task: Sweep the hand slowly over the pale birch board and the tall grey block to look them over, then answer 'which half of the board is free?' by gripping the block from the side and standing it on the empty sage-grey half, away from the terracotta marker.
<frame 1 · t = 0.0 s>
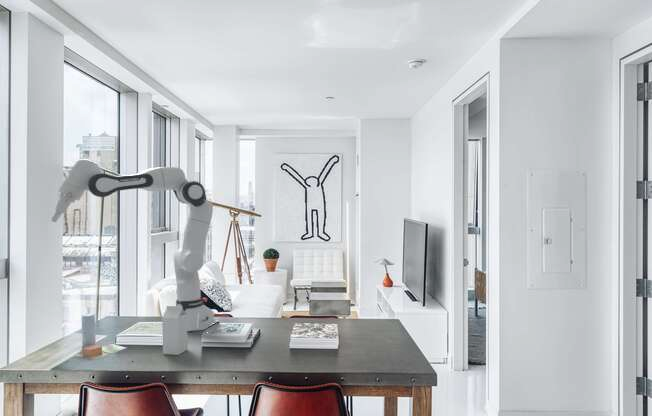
hand: (53, 221, 190), 54 cm above the table, tool tilted 30°, fingers open, 8 cm apart
terracotta marker: (92, 354, 180), resting on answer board
tall grey block: (89, 348, 192), on the table
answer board: (101, 353, 184), on the table
milk carton: (175, 352, 185), on the table
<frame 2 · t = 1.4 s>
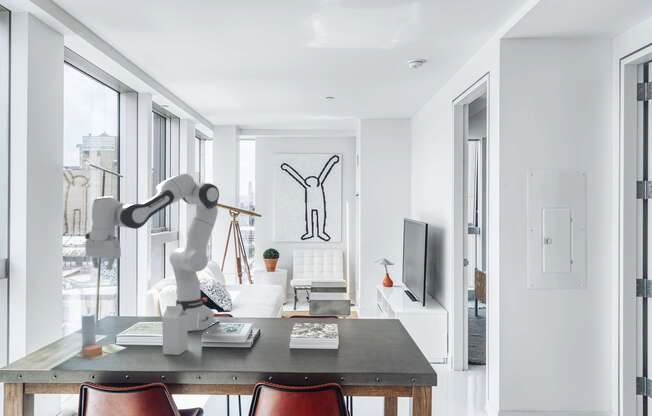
hand: (102, 268, 186), 35 cm above the table, tool pointing down, fingers open, 8 cm apart
nothing on the table moved.
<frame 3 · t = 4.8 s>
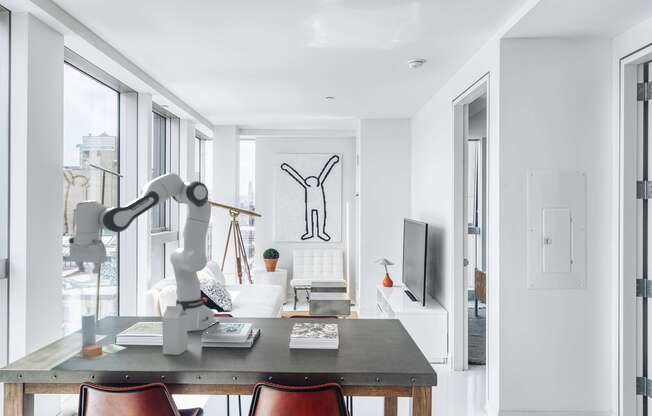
hand: (88, 272, 187), 33 cm above the table, tool pointing down, fingers open, 8 cm apart
nothing on the table moved.
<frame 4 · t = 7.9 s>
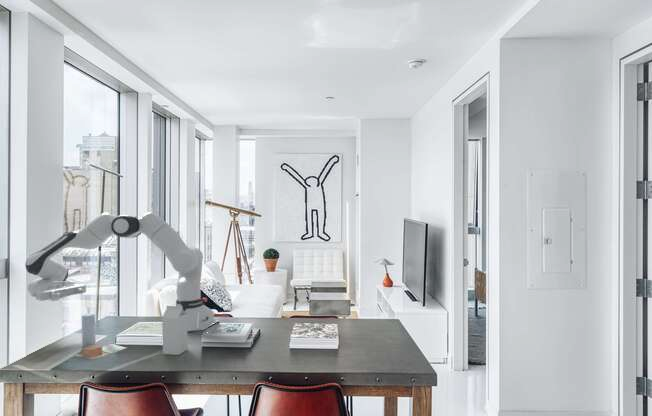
hand: (71, 293, 197), 22 cm above the table, tool horizontal, fingers open, 8 cm apart
nothing on the table moved.
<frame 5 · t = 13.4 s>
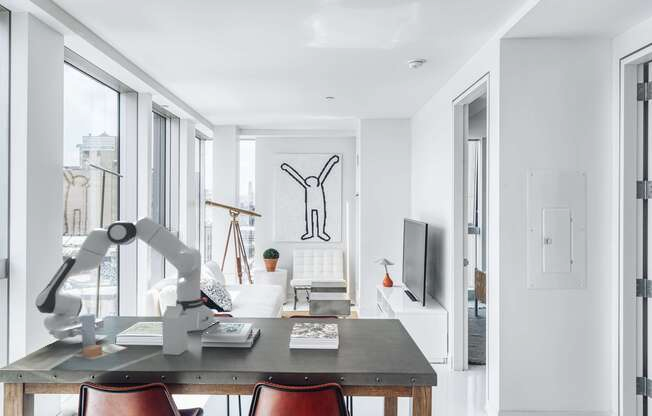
hand: (90, 330, 191), 8 cm above the table, tool horizontal, fingers closed on tall grey block, 5 cm apart
tall grey block: (89, 348, 192), on the table, touching gripper
everything else where it was.
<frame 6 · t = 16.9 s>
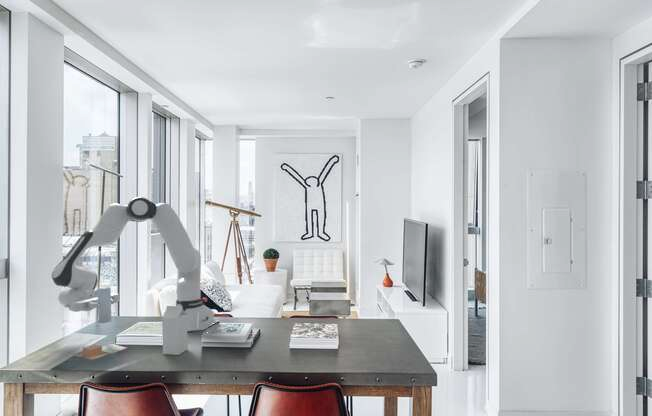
hand: (105, 303, 188), 20 cm above the table, tool horizontal, fingers closed on tall grey block, 5 cm apart
tall grey block: (105, 321, 188), point 12 cm above the table, touching gripper
everything else where it was.
when the fingers open (10 cm above the table, at t = 20.1 s): tall grey block drops 1 cm, resting on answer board.
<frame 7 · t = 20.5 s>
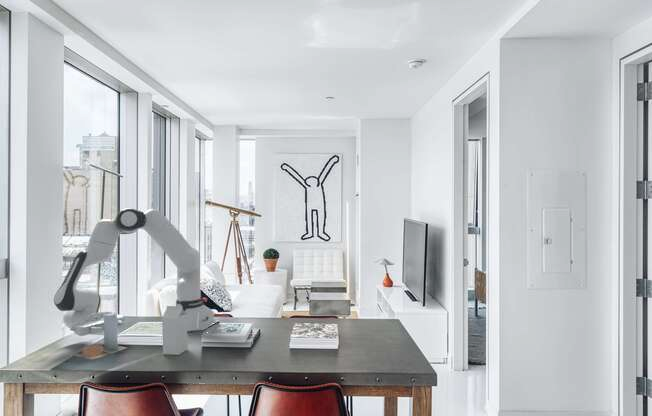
hand: (111, 327, 187), 10 cm above the table, tool horizontal, fingers open, 8 cm apart
tall grey block: (110, 348, 187), point 1 cm above the table, touching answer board
everything else where it was.
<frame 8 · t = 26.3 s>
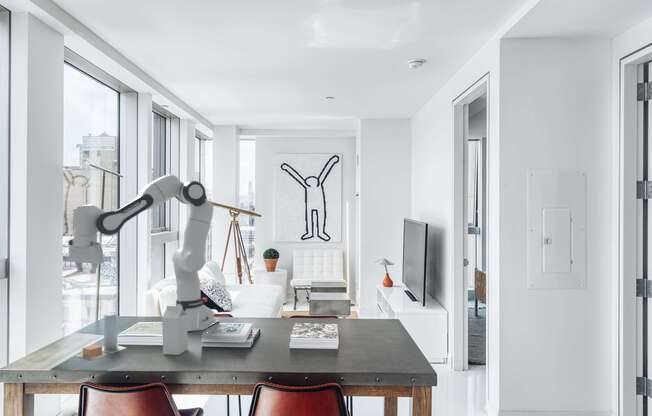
hand: (86, 272, 198), 31 cm above the table, tool pointing down, fingers open, 8 cm apart
nothing on the table moved.
at the end: tall grey block inside the target area on the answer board (0.2 cm from its centre), point 1.1 cm above the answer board's base; tall grey block tilted 1°; the gripper is holding nothing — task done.
